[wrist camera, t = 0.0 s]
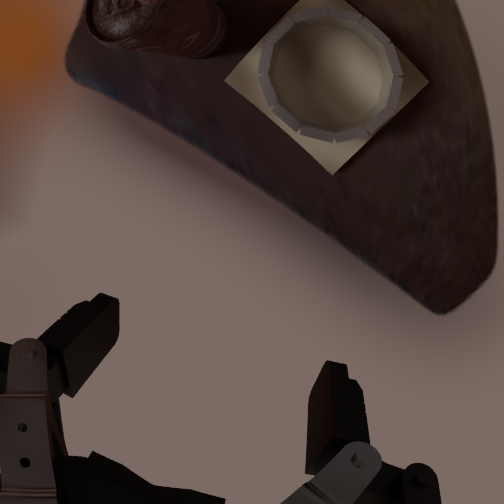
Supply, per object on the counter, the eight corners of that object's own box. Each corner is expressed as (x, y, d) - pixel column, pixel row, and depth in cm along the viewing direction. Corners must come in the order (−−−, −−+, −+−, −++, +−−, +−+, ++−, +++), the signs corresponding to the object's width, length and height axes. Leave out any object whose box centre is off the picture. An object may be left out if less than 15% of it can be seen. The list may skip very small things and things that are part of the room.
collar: (321, -4, 20) (322, -17, 17) (413, 80, 23) (428, 79, 19) (241, 78, 26) (230, 77, 22) (332, 158, 28) (334, 169, 24)
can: (246, 26, 24) (194, -17, 12) (199, 71, 27) (118, 67, 15) (203, -10, 22) (128, -60, 10) (158, 35, 25) (64, 18, 13)
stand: (319, -15, 21) (319, -19, 20) (424, 82, 23) (429, 82, 22) (227, 80, 27) (224, 80, 26) (331, 171, 29) (332, 175, 28)
